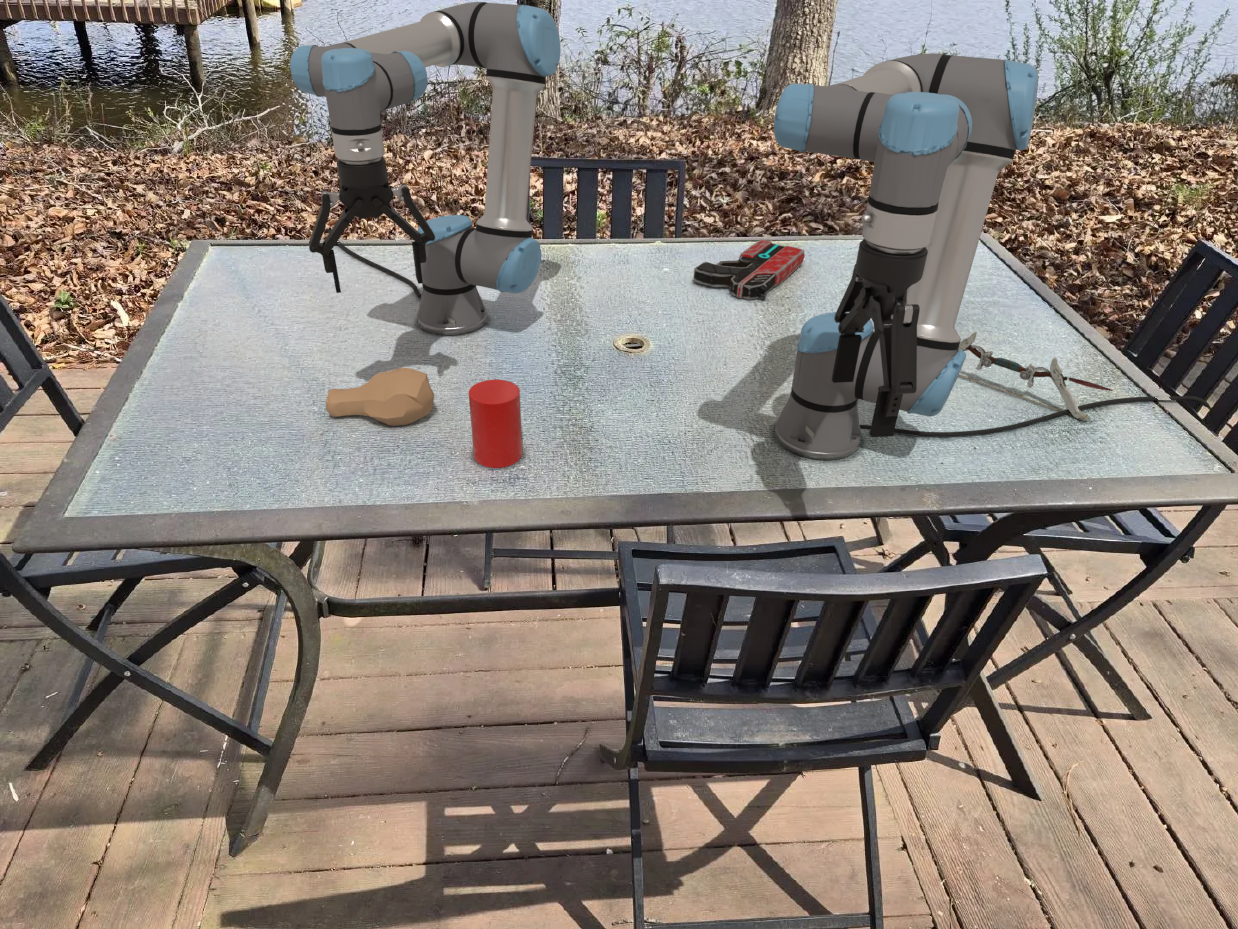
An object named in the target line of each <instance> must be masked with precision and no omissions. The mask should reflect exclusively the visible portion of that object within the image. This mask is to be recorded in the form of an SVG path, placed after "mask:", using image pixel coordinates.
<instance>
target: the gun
mask: <svg viewBox="0 0 1238 929" xmlns="http://www.w3.org/2000/svg"><path fill="white" fill-rule="evenodd" d="M805 256H806V255H805V249H801V248H798V247H794V246H791V245H782V244H781V245H780V244H776V243H772V240H767V239H759V240H757V241H756V242H754V243H753V244H752V245H750V246H749V247H748V248H746V249H745V250H743V251H741V253H740V255H739V256H738V260H736V259H735V260H720V261H719V262H717V263H712V262H709V261H706V260H705V261H704V262H702V263H701V264H699V265H697V266H696V267H693V279H692V281H694V282H696V283H697V284H702V285H703V286H708V287H713V288H714V287H715V288H729V293H730V294H731V295H732V296H735V297H736V298H737V299H744V300H745V299H746V300H754V299H759V300H762V301H765V300H766V297H767V293H768V292H770V291H771V290H772V289H774V288H776V287H778V286H780V284H781V283H782V282H784V281H785V280H786V279H788V277H789V276H790V275H792V274H793V273H794V272H795V271H796V270H797V269H798V268H799V267H800V266H802V265H803V262H804V259H805Z"/></svg>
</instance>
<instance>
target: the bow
mask: <svg viewBox="0 0 1238 929" xmlns="http://www.w3.org/2000/svg"><path fill="white" fill-rule="evenodd" d="M977 334H978V333H977V331H974V332H973V333H972V334H971V335H969V336H968V337H966V338H963V339H961V341H960V344H959V348H958V350H963V352H967V351H969V352H970V353H972V354H973V355H974V356H975V357H976V358H978V359H979V362H978V363H977V364H976V367H975V370H977V371H981V370H982V369H983V367H985V368H990V367H991V366H992V365H995V366H998V367H1000V368H1004V369H1007V370H1009V371H1012V372H1016V373H1019V378H1020V379H1021V380H1023V381H1027V382H1026V384H1027V385H1026V387H1027V388H1029V389H1032V387H1034V383H1035V380H1034V379H1035V378H1050V379H1051V381H1052V382H1053V383H1054V386H1055V387H1056V389H1057V390H1058V392H1059V394H1060V396H1061V399H1062V400H1063V403H1064V405H1065V407H1066V409H1068V410H1069V411H1070V412H1071V413H1068V414H1067V415H1069V416H1072V417H1073V418H1076V419H1077V420H1080V421H1084V422H1086V421H1089V419H1090V418H1091V417H1090V416H1088V414H1086V413H1085V412H1083V411H1082V410H1079V409H1078V406H1079V405H1078V403H1077V400H1076V398H1075V396H1074V395H1073V393H1072V391H1071V389H1070V388H1069V387H1068V386H1067V384H1066V381H1067V380H1068V381H1069V382H1072V383H1075V384H1078V385H1081V386H1084V387H1087V388H1092V389H1095V390H1101V391H1102V390H1103V391H1109V392H1113V391H1114V390H1113V389H1111V388H1110V387H1106V386H1103V385H1101V384H1100V385H1099V384H1097V383H1093V382H1091V381H1088V380H1084V379H1080V378H1075V377H1068V376H1066V375H1065V376H1064V374H1063V371H1062V368H1061V367H1060V366H1059V363H1058V358H1057V357H1053V358H1052V359H1051V362H1050V366H1049V369H1048V368H1047V367H1044V366H1036V367H1035V365H1033V364H1032V363H1030V364H1028V365H1027V366H1025V367H1023V366H1022V365H1021V364H1020V363H1019V362H1016V361H1014V360H1010V359H1007V358H1004V357H994V356H993V355H994V352H993V350H990V351H989V350H987V351H986V350H985V349H984V348H983V347H982V346H980V345H978V344H977V345H976V344H973V343H974V342H975V340H976V339H977V338H976V337H977ZM972 344H973V345H972ZM959 376H960V377H963V378H965V379H968V380H971V381H973V382H976V383H979V384H982V385H985V386H988V387H991V388H993V389H996V390H999V391H1003V392H1005V393H1008V394H1010V395H1014V396H1016V397H1019V398H1022V399H1024V400H1027V401H1030V402H1032V403H1036V404H1039V405H1042V406H1045V407H1047V408H1050V409H1052V410H1056V411H1057V412H1060V411H1062V410H1061V409H1059V408H1056V407H1052V406H1050V405H1047V404H1044V403H1042V402H1038V401H1036V400H1033V399H1030V398H1027V397H1025V396H1021V395H1019V394H1016V393H1013V392H1010V391H1007V390H1004V389H1001V388H999V387H996V386H993V385H990V384H987V383H985V382H981V381H979V380H976V379H973V378H970V377H967V376H965V375H962V374H959V375H958V377H959Z"/></svg>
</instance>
